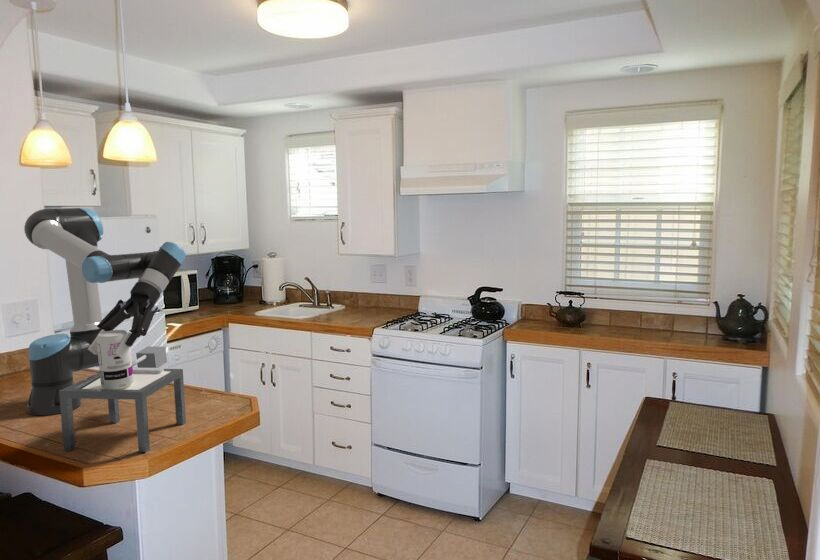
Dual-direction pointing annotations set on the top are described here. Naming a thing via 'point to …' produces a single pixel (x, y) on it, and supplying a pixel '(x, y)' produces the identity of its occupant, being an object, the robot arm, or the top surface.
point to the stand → (113, 405)
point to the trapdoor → (143, 368)
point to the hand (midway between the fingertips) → (105, 353)
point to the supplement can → (114, 361)
